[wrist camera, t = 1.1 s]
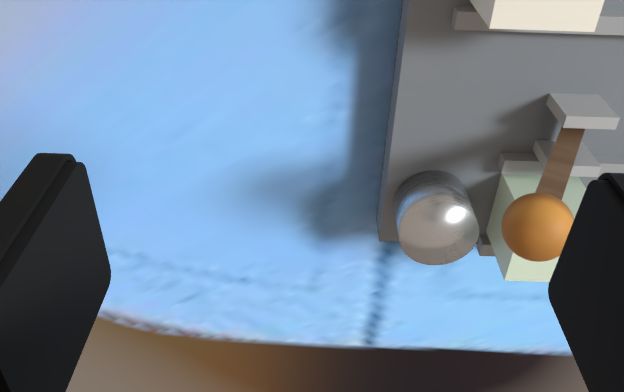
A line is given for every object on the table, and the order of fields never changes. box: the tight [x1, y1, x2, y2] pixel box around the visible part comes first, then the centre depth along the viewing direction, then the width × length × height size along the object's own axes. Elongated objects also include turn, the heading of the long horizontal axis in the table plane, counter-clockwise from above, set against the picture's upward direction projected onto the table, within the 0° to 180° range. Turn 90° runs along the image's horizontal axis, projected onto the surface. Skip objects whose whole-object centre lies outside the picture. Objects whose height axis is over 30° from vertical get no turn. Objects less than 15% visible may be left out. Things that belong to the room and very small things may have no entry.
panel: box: [377, 0, 624, 256], centre depth 27 cm, size 20×17×4 cm
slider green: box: [486, 174, 586, 282], centre depth 30 cm, size 4×4×4 cm
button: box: [393, 170, 479, 265], centre depth 30 cm, size 4×4×3 cm
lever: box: [501, 127, 585, 262], centre depth 24 cm, size 3×3×10 cm
